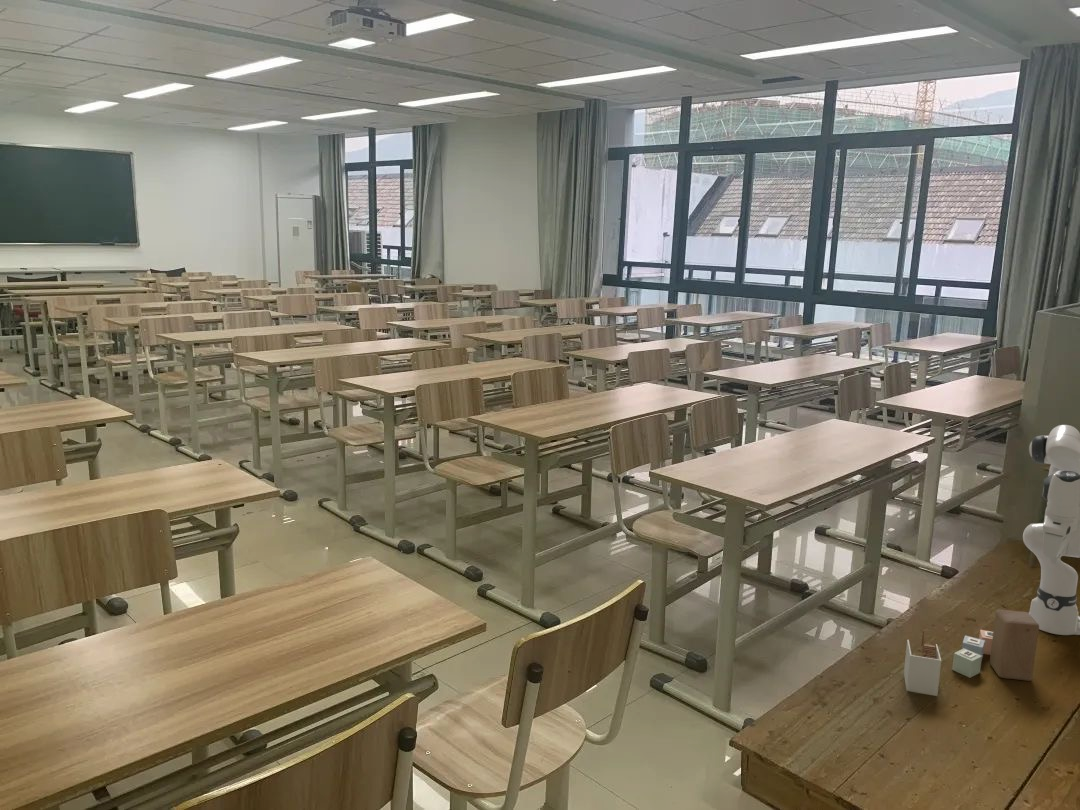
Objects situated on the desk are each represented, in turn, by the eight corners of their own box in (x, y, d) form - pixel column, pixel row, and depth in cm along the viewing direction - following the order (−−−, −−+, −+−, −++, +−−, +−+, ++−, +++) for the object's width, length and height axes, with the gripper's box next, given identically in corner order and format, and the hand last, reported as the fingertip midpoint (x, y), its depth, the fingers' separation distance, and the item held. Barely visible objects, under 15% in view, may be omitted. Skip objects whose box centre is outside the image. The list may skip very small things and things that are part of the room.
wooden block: (1032, 682, 253) (1040, 625, 249) (998, 678, 255) (1006, 621, 251) (1020, 666, 262) (1028, 610, 258) (988, 663, 264) (995, 608, 260)
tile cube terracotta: (978, 645, 276) (980, 628, 275) (997, 648, 274) (999, 631, 273) (980, 653, 271) (982, 635, 270) (999, 656, 269) (1002, 639, 267)
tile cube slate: (963, 651, 272) (965, 634, 271) (982, 656, 269) (985, 639, 267) (960, 658, 267) (962, 641, 266) (980, 663, 264) (982, 646, 263)
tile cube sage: (961, 664, 263) (964, 646, 262) (979, 672, 258) (982, 654, 257) (952, 669, 260) (954, 651, 259) (970, 677, 255) (972, 659, 254)
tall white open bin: (933, 679, 255) (938, 632, 252) (937, 697, 245) (942, 648, 242) (903, 674, 258) (908, 627, 255) (906, 691, 248) (911, 643, 245)
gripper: (1056, 510, 258) (1051, 549, 261) (1041, 527, 244) (1035, 569, 247) (1079, 515, 254) (1073, 555, 257) (1064, 533, 240) (1058, 575, 243)
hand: (1054, 562), depth 252 cm, fingers closed
